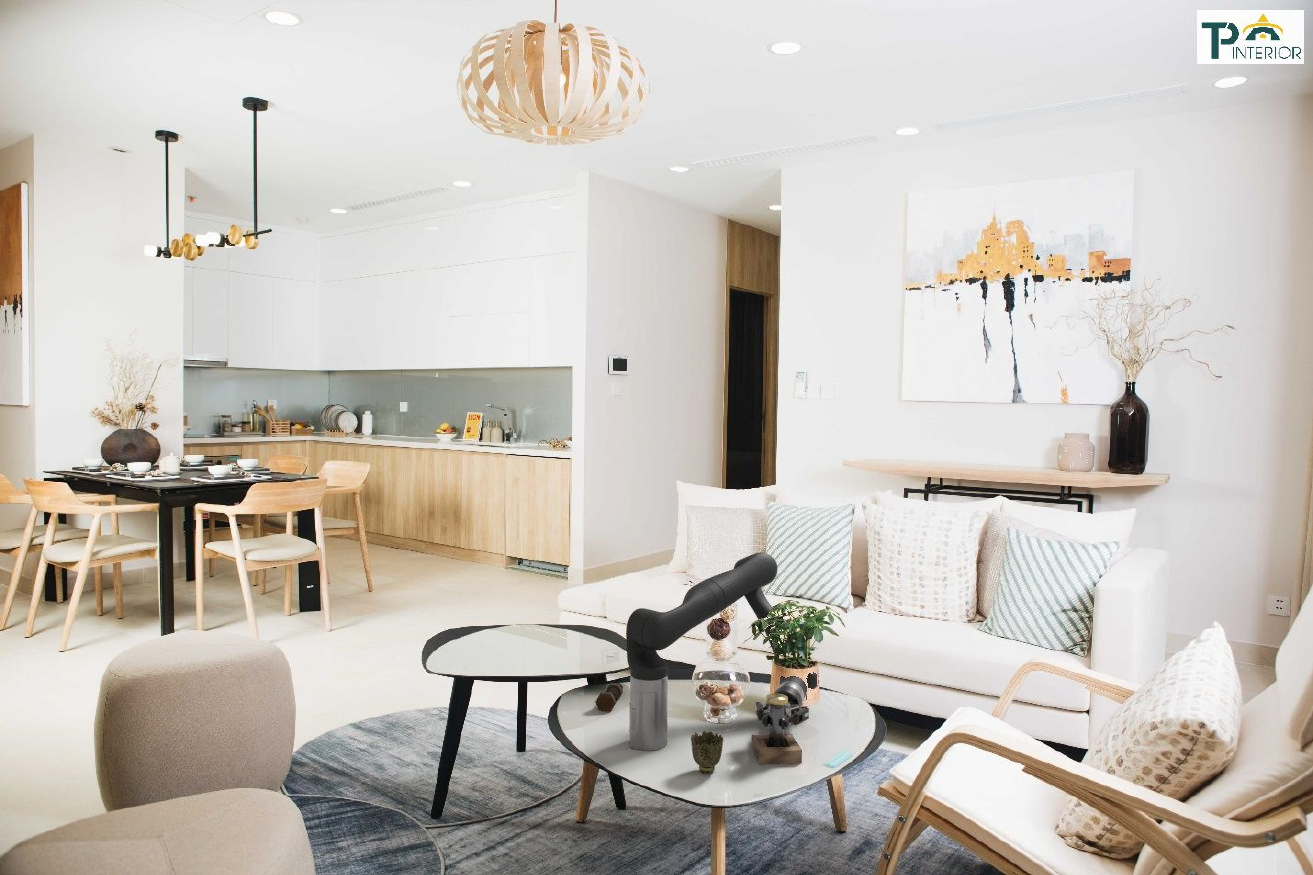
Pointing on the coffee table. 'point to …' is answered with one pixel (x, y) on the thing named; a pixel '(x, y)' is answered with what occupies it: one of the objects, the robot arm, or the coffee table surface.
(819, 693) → the coffee table surface
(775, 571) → the robot arm
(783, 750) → the socket block
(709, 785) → the coffee table surface
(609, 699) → the brown hex dumbbell
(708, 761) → the cup
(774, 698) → the pin
